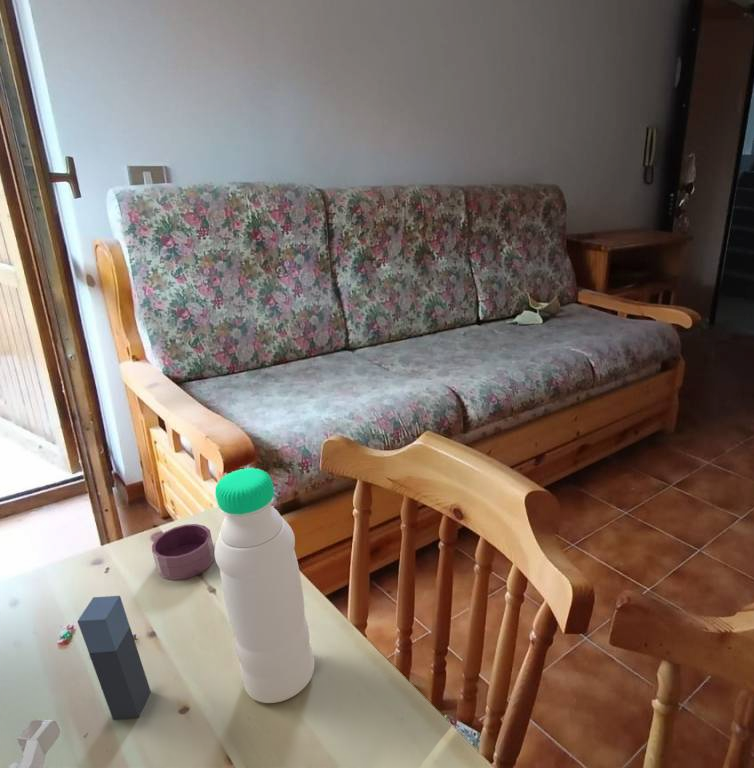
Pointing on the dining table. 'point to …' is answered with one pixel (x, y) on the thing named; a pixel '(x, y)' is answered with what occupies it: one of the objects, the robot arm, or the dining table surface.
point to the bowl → (183, 551)
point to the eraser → (115, 656)
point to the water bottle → (262, 588)
